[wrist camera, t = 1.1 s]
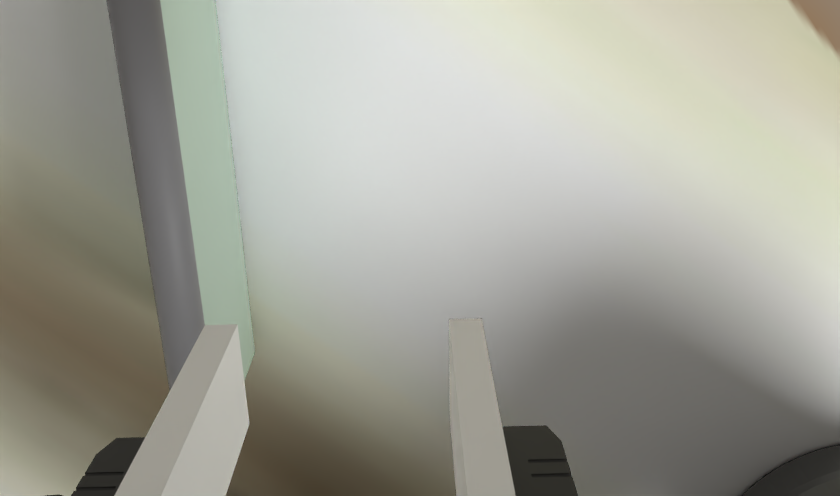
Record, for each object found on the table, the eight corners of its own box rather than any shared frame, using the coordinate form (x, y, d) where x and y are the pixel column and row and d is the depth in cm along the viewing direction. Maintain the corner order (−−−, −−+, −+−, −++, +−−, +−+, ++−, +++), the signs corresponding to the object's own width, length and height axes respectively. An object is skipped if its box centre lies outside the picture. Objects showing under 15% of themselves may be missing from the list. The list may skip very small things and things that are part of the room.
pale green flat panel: (168, -110, 31) (77, -129, 23) (207, -111, 31) (132, -130, 23) (227, 352, 39) (176, 468, 30) (259, 352, 39) (216, 467, 30)
